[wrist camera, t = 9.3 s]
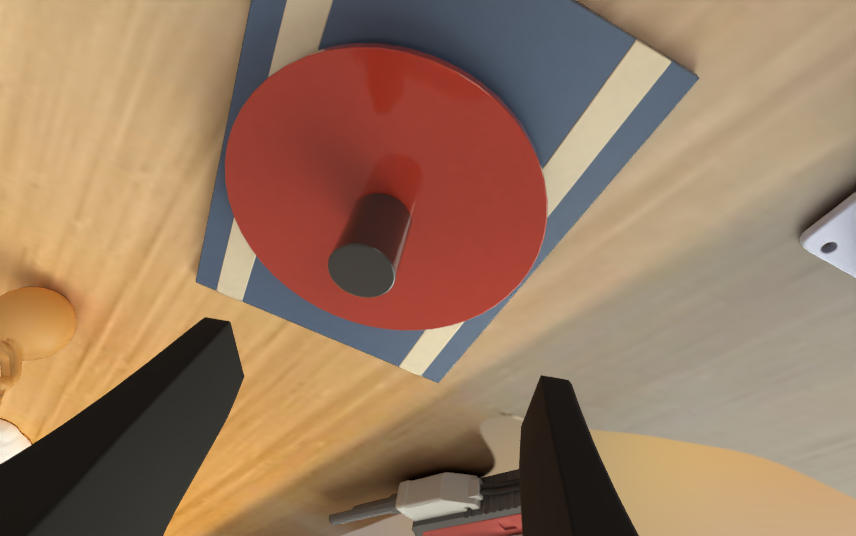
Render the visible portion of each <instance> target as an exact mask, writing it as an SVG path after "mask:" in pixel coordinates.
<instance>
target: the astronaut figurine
mask: <svg viewBox="0 0 856 536" xmlns="http://www.w3.org/2000/svg"><path fill="white" fill-rule="evenodd" d="M31 445H32V444H31V442H30V441H29V440H28V439H27V438H26V437H25V436H24V435H22V434H21V433H20V431H19V430H18V428H17V427H16V426H14V425H13V424H11V423H9V422H7V421H4V420H2V419H0V464H1V463H3V462H5V461H6V460H8V459H10V458H11V457H13V456H15V455H16V454H18V453H19V452H21V451H23V450H24V449H26V448H27V447H29V446H31Z"/></svg>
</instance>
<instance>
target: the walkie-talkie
mask: <svg viewBox="0 0 856 536" xmlns="http://www.w3.org/2000/svg"><path fill="white" fill-rule="evenodd" d="M388 513H393V514H398V513H403V514H404V515H406V516H407V517H409V518H410V519H411V520H413V527H412V531H413V532H414V534H415V536H522V518H521V500H520V481H519V469H518V470H514V471H509V472H505V473H501V474H497V475H492V476H488V477H484V478H479V477H477V476H475V475H466V474H458V473H450V472H445V473H441V474H437V475H433V476H429V477H425V478H421V479H417V480H413V481H411V480H407V481H404V482H400V484H399V489H398V493H397V494H393V495H391V496H390V497H389V498H385V499H381V500H377V501H373V502H369V503H365V504H361V505H357V506H354V507H353V508H352V510H348V511H344V512H340V513H336V514H332V515H329V522H330V523H331V524H332V525H338V524H343V523H347V522H352V521H356V520H361V519H365V518H370V517H375V516H379V515H384V514H388Z"/></svg>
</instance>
